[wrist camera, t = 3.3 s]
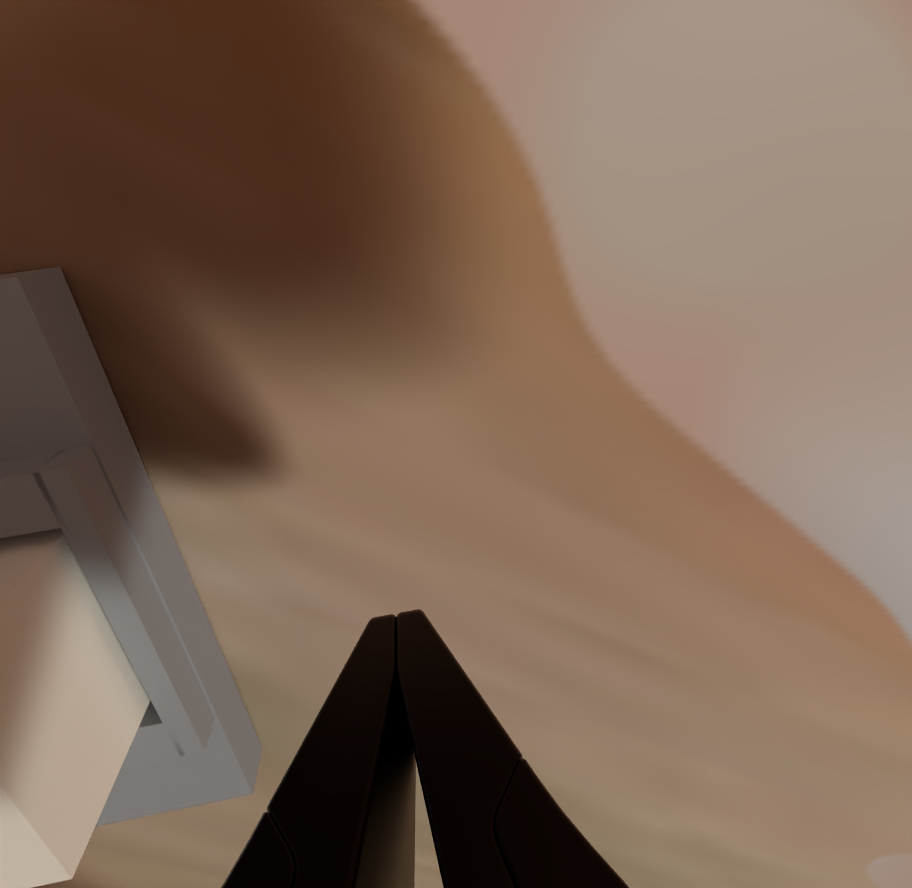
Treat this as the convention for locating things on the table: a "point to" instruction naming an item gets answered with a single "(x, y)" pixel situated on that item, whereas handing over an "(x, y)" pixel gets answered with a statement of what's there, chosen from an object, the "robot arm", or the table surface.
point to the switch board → (116, 551)
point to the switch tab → (56, 709)
